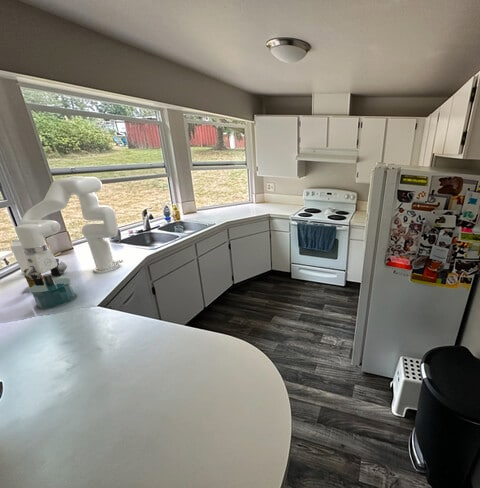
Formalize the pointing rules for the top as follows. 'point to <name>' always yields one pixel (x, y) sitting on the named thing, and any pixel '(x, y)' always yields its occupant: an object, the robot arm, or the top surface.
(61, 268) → the paper boat
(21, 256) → the milk
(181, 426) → the top surface
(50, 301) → the pot
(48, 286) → the lid
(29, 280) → the condiment
